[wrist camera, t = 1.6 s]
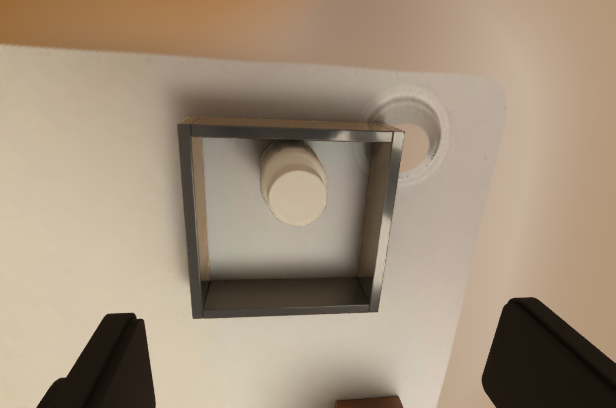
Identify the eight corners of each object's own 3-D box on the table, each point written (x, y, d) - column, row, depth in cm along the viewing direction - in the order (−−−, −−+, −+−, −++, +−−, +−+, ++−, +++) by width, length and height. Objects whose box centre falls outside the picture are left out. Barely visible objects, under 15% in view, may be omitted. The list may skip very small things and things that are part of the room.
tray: (385, 123, 27) (405, 131, 23) (364, 284, 32) (378, 312, 28) (189, 115, 25) (176, 123, 21) (200, 288, 30) (192, 319, 26)
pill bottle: (260, 191, 28) (259, 234, 20) (260, 135, 26) (259, 160, 19) (315, 191, 28) (333, 233, 21) (318, 137, 27) (338, 162, 19)
